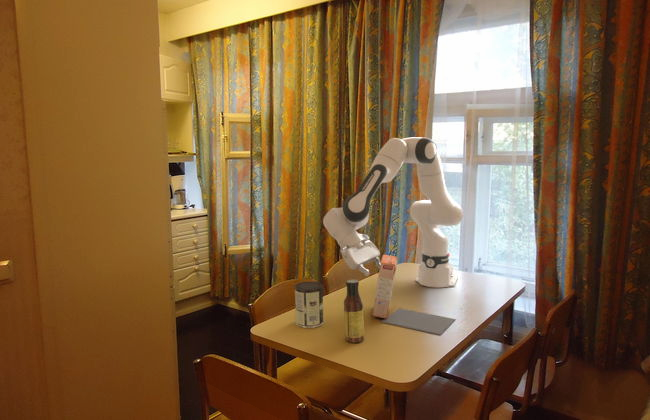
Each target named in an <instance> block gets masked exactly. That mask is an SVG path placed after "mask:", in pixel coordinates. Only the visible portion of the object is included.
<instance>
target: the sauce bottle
mask: <svg viewBox="0 0 650 420" xmlns="http://www.w3.org/2000/svg"><path fill="white" fill-rule="evenodd" d="M359 282H360V281H359V280H357V279H348V280H346V281H345V285H346V297H345V298H344V301H343V308H344V309H343V318H344V335H345V340H346V341H347V342H349V343H354V344H357V343H361V342H363V341H364V337H365V324H364V305H363V302H362V299H361V296H360V293H359Z"/></svg>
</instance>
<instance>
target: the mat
mask: <svg viewBox="0 0 650 420" xmlns="http://www.w3.org/2000/svg"><path fill="white" fill-rule="evenodd" d="M455 321H456V318H452V317H447V316H443V315H441V316H440V315H437V314H432V313H427V312H421V311H417V310H411V309H405V308H401V307H400V308H397V309H396V310H395V311H392V313H391V314H390V315H389V314H388V316H387V319H385V318H383V319H382V320H381V321H380V323H383V324H386V325H387V324H388V325H391V326H392V325H393V326H395V327H396V326H398V327H401V328H405V329H411V330H414V331H419V332H424V333H428V334H432V335H436V336H442V335H443V334H444V332H445V331H447V330H448V329H449V327H450V326H451V325H452V324H453V323H454V322H455Z"/></svg>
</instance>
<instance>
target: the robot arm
mask: <svg viewBox="0 0 650 420" xmlns="http://www.w3.org/2000/svg"><path fill="white" fill-rule="evenodd" d="M441 160H442V159H441V158H440V154H439V151H438V147H437V144H436V142H435V141H434V140H433V139H431V138H429V137H419V136H417V137H414V136H413V137H406V138H405V137H402V138H401V137H400V138H397V137H392V138H390V139H388V140H387V142H385V144H383V146H382V148H381V149H380V150H379V152H378V153H377V155H376V156H375V158H374V160H373V162H372V163H371V166H370V169H369V171H368V173H367V175H366V176H365V178H364V180H363V181H362V182H361V184H360V185H359V186H358V188H357V190H356V191H355V192H354V193H352V194H351V195H349V196H347V198H346V199H345V200H344V202H343V204H342V207H332V208H330V209H329V210H328V211H327V212H326V213H325V215H324V216H323V219H322V224H323V226H324V227H325V229H326V230H327V232H328V234H329V235H330V236H331V237H332V238H333V239H335V240H336V242H337V244H338V245H339V247H340V254H341V256H342V258H343V261H344V262H345V264H347V266H348V267H349V269H350V270H356V269H357V270H358V271H359V272H361V273H362V274H364V276H365V277H368V276H369V275H370V274H371V272H370V270H369V269H368V268H365V267H364V265H366V264H368V263H370V262H373V263H375V265H376V268H377V269H378V270H380V264H381V260H380V258H379V257H380V256H381V252H380V250H379V249H378V248H377V246H376V245H375V244H374V242H372V241H371V240H370V237H369V235H367V234H364V233H363V234H362V233H359V232H358V231H357V230H359V229H361V228H363V227H365V226H366V225H367V223H369V218H370V205H371V200H372V199H373V198H374V195H375V194H376V192H377V191H378V189H379V187H380V186H381V184H387V183H390V182H392V180H393V179H395V177H396V176H397V175H398V173H399V171H400V169H401V168H402V166H403V164H404V163H406V164H415V165H416V172H417V173H416V175H417V179H418V186H419V191H420V192H421V193H422V194H423V195H424V196H426V198H427V199H428V200H427V199H423V200H421V199H420V200H417V201H414V202H413V203H412V204H411V206H410V208H409V209H410V210H409V215H410V217H411V219H412V220H413V221H414V222H415V223H416V224H417V227H418V228H419V230H420V233H421V237H422V253H421V262H420V263H419V265H418V275H417V277H416V278H414V280H415V282H417V283H418V284H419V285H421V286H425V287H428V288H446V287H447V288H448V287H455V286H456V284H457V282H458V276H457V275H454V269H453V266H452V264H450V262H449V261H450V260H449V258H450V253H449V252H448V237H447V235H446V234H444V233H443V232H442V231H441V229H440V228H439V226H443V227H451V226H452V227H453V226H457V225H459V224H460V223H461V222H462V221H463V216H464V211H463V208H462V207H461V205H460V204H458V203H457V202H456V201H455V200H454V199H453V198H452V197H451V195H450V194H449V192H448V190H447V187H446V183H445V178H444V172H443V165H442V161H441Z"/></svg>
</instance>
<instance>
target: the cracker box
mask: <svg viewBox="0 0 650 420" xmlns="http://www.w3.org/2000/svg"><path fill="white" fill-rule="evenodd" d="M380 262H381V264H380V269H378V270H379V272H378V277H377V281H376V289H375V296H374V302H373V309H372V315H371V316H372V317H376V318H382V319H387V317H388V316H389V311H390V306H391V301H392V295H393V288H394V284H395V277H396V271H397V263H398V257H397V256H395V255H389V254H383V255H382V257H381V260H380Z"/></svg>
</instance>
